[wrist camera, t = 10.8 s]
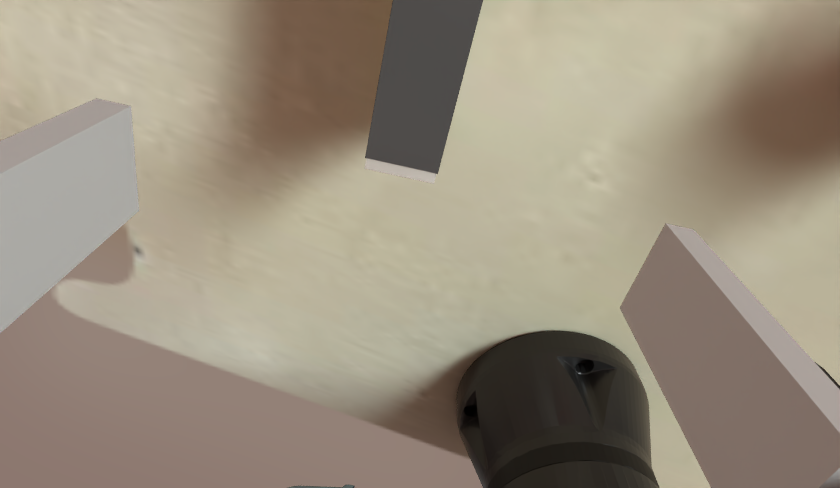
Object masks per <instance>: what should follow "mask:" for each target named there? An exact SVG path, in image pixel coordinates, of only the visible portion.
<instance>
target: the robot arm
mask: <svg viewBox="0 0 840 488" xmlns="http://www.w3.org/2000/svg"><path fill="white" fill-rule="evenodd" d="M138 211H139V203H138V190H137V177H136V164H135V151H134V138H133V125H132V112H131V106H129V105H125V104H120V103H115V102H111V101H106V100H102V99H97V98H96V99H94V100H92V101H89V102H87V103H85V104H83V105H80V106H78V107H76V108H74V109H71V110H69V111H67V112H65V113H62V114H60V115H58V116H56V117H53V118H51V119H49V120H47V121H44V122H42V123H40V124H38V125H35V126H33V127H31V128H29V129H26V130H24V131H22V132H19V133H17V134H15V135H13V136H10V137H8V138H6V139H4V140H1V141H0V333H1V332H2V331H3V330H4V329H5V328H7V327H8V326H9V325H10V324H11V323H12V322H14V321H15V320H16V319H17V318H18V317H19V316H20V315H21V314H23V313H24V312H25V311H26V310H27V309H28V308H29V307H30V306H32V305H33V304H34V303H35V302H36V301H37V300H38V299H40V298H41V297H42V296H43V295H44V294H45V293H46V292H48V291H49V290H50V289H51V288H52V287H53V286H54V285H55V284H57V283H58V282H59V281H60V280H61V279H62V278H63V277H64V276H66V275H67V274H68V273H69V272H70V271H71V270H72V269H74V268H75V266H77V265H78V264H79V263H80V262H81V261H83V260H84V259H85V258H86V257H87V256H88V255H89V254H90V253H92V252H93V251H94V250H95V249H96V248H97V247H98V246H100V245H101V244H102V243H103V242H104V241H105V240H106V239H107V238H109V237H110V236H111V235H112V234H113V233H114V232H115V231H117V230H118V229H119V228H120V227H121V226H122V225H123V224H124V223H126V222H127V221H128V220H129V219H130V218H131V217H132V216H134V215H135V214H136V213H137V212H138ZM620 309H621V311H622V313H623V315H624V317H625V319H626V321H627V323H628V325H629V327H630V329H631V331H632V333H633V335H634V337H635V339H636V341H637V343H638V345H639V347H640V349H641V351H642V353H643V355H644V356H645V358H646V360H647V362H648V364H649V366H650V368H651V370H652V372H653V374H654V376H655V378H656V380H657V382H658V384H659V386H660V388H661V390H662V392H663V394H664V396H665V398H666V400H667V402H668V404H669V406H670V408H671V410H672V412H673V414H674V416H675V418H676V419H677V421H678V423H679V425H680V427H681V429H682V431H683V433H684V435H685V437H686V439H687V441H688V443H689V445H690V447H691V449H692V451H693V453H694V455H695V457H696V459H697V461H698V463H699V465H700V467H701V469H702V471H703V473H704V475H705V477H706V479H707V481H708V482H709V484H710V486H711V488H840V386H839V385H838V384H837V382H836V381H835V380H834V379H833V378H832V377H831V376H830V375H829V374H828V373H827V372H826V371H825V369H823V368H822V367H821V366H819V365H818V364H817V363H816V362H814V361H813V360H812V359H811V357H810V356H809V355H808V354H807V353H806V352H805V351H804V350H803V349H802V348H801V347H800V345H799V344H798V343H797V342H796V341H795V340H794V339H793V338H792V337H791V336H790V334H789V333H788V332H787V331H786V330H785V329H784V328H783V327H782V326H781V325H780V323H779V322H778V321H777V320H776V319H775V318H774V317H773V316H772V315H771V314H770V313H769V311H768V310H767V309H766V308H765V307H764V306H763V305H762V304H761V303H760V302H759V300H758V299H757V298H756V297H755V296H754V295H753V294H752V293H751V292H750V291H749V289H748V288H747V287H746V286H745V285H744V284H743V283H742V282H741V281H740V280H739V278H738V277H737V276H736V275H735V274H734V273H733V272H732V271H731V270H730V269H729V268H728V266H727V265H726V264H725V263H724V262H723V261H722V260H721V259H720V258H719V257H718V255H717V254H716V253H715V252H714V251H713V250H712V249H711V248H710V247H709V246H708V244H707V243H706V242H705V241H704V240H703V239H702V238H701V237H700V236H699V235H698V234H697V232H696V231H695V230H694V229H689V228H685V227H680V226H676V225H671V224H667V223H666V224H665V225H664V227H663V229H662V231H661V233H660V235H659V236H658V238H657V240H656V242H655V244H654V246H653V247H652V249H651V251H650V253H649V255H648V257H647V258H646V260H645V262H644V264H643V266H642V268H641V270H640V271H639V273H638V275H637V277H636V279H635V281H634V282H633V284H632V286H631V288H630V290H629V292H628V293H627V295H626V297H625V299H624V301H623V303H622V304H621V306H620ZM457 422H458V428H459V432H460V436H461V438H462V441H463V443H464V445H465V447H466V450H467V452H468V454H469V457H470V459H471V461H472V463H473V465H474V468H475V470H476V473H477V475H478V477H479V479H480V481H481V484H482V486H483V488H659V485H658V483H657V480H656V478H655V475H654V472H653V470H652V466H651V443H650V420H649V403H648V399H647V395H646V391H645V389H644V386H643V384H642V382H641V380H640V378H639V376H638V373H637V371H636V369H635V367H634V366H633V364H632V362H631V361H630V360H629V359H628V358H627V357H626V355H625V354H623V353H622V352H621V351H620V350H619V349H617V348H616V347H614V346H613V345H611V344H609V343H607V342H605V341H603V340H601V339H598V338H596V337H593V336H589V335H585V334H580V333H574V332H564V331H551V332H540V333H533V334H528V335H524V336H520V337H517V338H514V339H511V340H509V341H506V342H504V343H502V344H500V345H498V346H496V347H494V348H492V349H491V350H489V351H488V352H486V353H485V354H483V355H482V356H481V357H480V358H478V359H477V360H476V361H475V362H474V363H473V364H472V365H471V366H470V368H469V369H468V370H467V372H466V373H465V375H464V376H463V378H462V380H461V382H460V385H459V388H458V392H457ZM289 488H341V487H316V486H293V487H289ZM342 488H354V486H353V485H345V486H343V487H342Z"/></svg>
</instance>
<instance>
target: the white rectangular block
mask: <svg viewBox="0 0 840 488" xmlns="http://www.w3.org/2000/svg"><path fill="white" fill-rule="evenodd" d="M482 2H483V0H393V3H392V9H391V14H390V20H389V26H388V31H387V37H386V43H385V48H384V54H383V60H382V65H381V71H380V77H379V82H378V88H377V94H376V99H375V105H374V111H373V116H372V122H371V128H370V133H369V139H368V145H367V150H366V156H365V158H366V163H365V169H369V170H373V171H378V172H382V173H387V174H391V175H396V176H401V177H405V178H410V179H414V180H419V181H423V182H428V183H433V184H434V181H435V177H436V174H438V171H439V167H440V163H441V159H442V155H443V151H444V148H445V144H446V140H447V136H448V132H449V128H450V125H451V121H452V117H453V113H454V109H455V105H456V102H457V98H458V94H459V90H460V86H461V82H462V79H463V75H464V71H465V67H466V63H467V59H468V56H469V52H470V48H471V44H472V40H473V36H474V33H475V29H476V25H477V21H478V17H479V14H480V10H481V6H482Z"/></svg>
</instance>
